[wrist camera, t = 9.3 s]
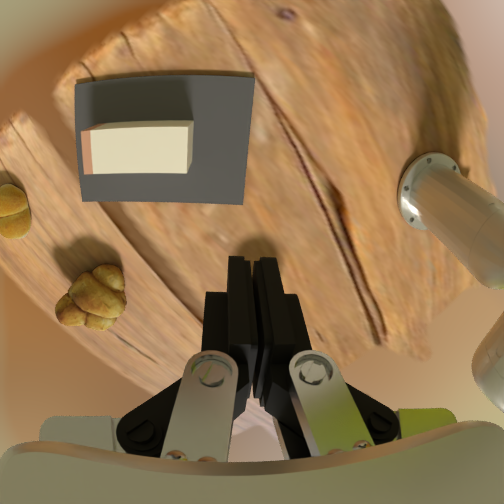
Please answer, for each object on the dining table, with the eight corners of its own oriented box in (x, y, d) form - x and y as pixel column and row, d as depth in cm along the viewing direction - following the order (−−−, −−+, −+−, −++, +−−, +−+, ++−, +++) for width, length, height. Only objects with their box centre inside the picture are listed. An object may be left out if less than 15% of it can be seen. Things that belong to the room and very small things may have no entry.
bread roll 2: (104, 246, 40) (85, 279, 33) (149, 287, 45) (138, 324, 38) (64, 285, 43) (46, 317, 37) (104, 319, 48) (92, 353, 41)
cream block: (188, 126, 27) (80, 131, 26) (186, 173, 30) (84, 174, 28) (193, 120, 31) (98, 123, 30) (192, 161, 34) (100, 161, 33)
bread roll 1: (25, 178, 33) (10, 188, 29) (38, 231, 38) (26, 244, 34) (-8, 185, 32) (-23, 195, 29) (5, 233, 37) (-7, 246, 34)
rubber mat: (254, 78, 30) (255, 78, 29) (242, 203, 38) (242, 205, 38) (76, 84, 27) (74, 84, 27) (84, 199, 36) (82, 201, 35)
